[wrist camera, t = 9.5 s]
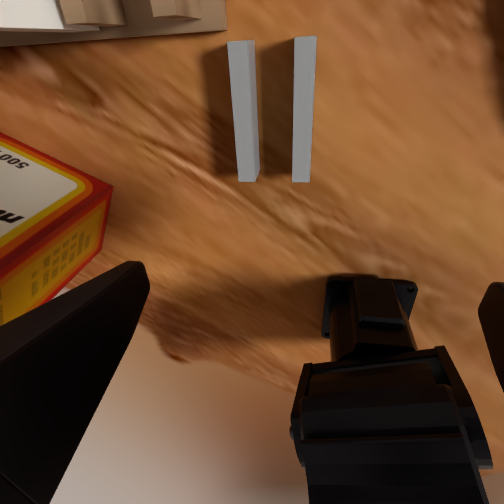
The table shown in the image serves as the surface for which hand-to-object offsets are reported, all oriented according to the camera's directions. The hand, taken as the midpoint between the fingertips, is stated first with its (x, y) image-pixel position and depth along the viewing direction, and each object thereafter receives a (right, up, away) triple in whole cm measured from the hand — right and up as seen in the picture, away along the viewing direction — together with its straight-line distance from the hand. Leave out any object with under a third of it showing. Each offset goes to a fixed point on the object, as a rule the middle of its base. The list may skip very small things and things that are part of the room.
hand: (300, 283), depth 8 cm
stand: (0, +9, +10) cm, 13 cm away
